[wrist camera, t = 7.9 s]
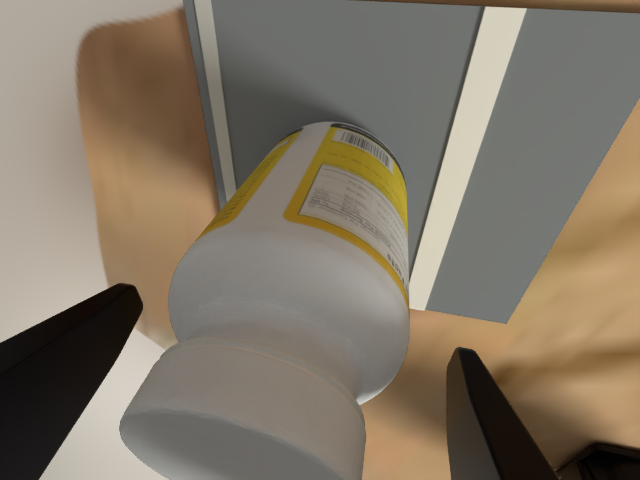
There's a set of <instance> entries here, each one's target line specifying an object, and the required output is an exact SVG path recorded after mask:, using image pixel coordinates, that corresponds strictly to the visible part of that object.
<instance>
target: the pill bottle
mask: <svg viewBox="0 0 640 480" xmlns="http://www.w3.org/2000/svg"><path fill="white" fill-rule="evenodd" d="M168 309H169V316H170V321H171V325H172V328H173V330H174V333H175V335H176V338H177V340H178V342H179V343H177V344H175V345H173V346H172V347H170V348H169V349H168V350H166V351H165V352H164V353H163V354H162V355H161V357H160V359H159V360H158V361H157V362H156V363H155V364H154V365H153V367H152V369H151V370H150V372H149V374H148V376H147V377H146V379H145V381H144V382H143V383H142V385H141V387H140V388H139V390H138V392H137V393H136V395H135V396H134V398H133V399H132V401H131V403H130V404H129V406H128V407H127V409H126V411H125V413H124V415H123V417H122V419H121V421H120V427H119V430H120V435H121V438H122V440H123V442H124V443H125V445H126V446H127V447H128V448H129V450H131V452H132V453H133V454H134V455H135V456H137V458H139V459H140V460H141V461H142V462H143V463H145V464H146V465H147V466H149V467H150V468H152V469H153V470H155V471H156V472H158V473H159V474H161V475H162V476H164V477H166V478H168V479H169V480H362V471H363V461H364V451H365V442H366V431H365V421H364V415H363V412H362V409H361V407H360V404H362V403H364V402H367V401H368V400H370V399H372V398H373V397H375V396H376V395H378V394H379V393H380V392H381V391H383V390H384V389H385V388H386V387H387V386H388V385H389V384H390V383H391V382H392V380H393V379H394V378H395V376H396V375H397V373H398V372H399V370H400V368H401V366H402V364H403V362H404V359H405V356H406V353H407V349H408V343H409V326H410V312H409V268H408V222H407V190H406V183H405V177H404V174H403V171H402V168H401V166H400V164H399V162H398V160H397V159H396V157H395V156H394V154H393V153H392V151H391V150H390V149H389V148H388V147H387V146H386V145H385V144H384V143H383V142H382V141H381V140H380V139H378V138H377V137H376V136H374V135H373V134H371V133H370V132H368V131H366V130H364V129H362V128H359V127H357V126H354V125H351V124H347V123H341V122H318V123H313V124H309V125H306V126H303V127H301V128H298V129H296V130H294V131H293V132H291V133H289V134H288V135H287V136H285V137H284V138H283V139H282V140H281V141H280V142H279V143H278V144H277V145H275V147H274V148H273V149H272V150H271V151H270V153H269V154H268V155H267V156H266V157H265V158H264V160H263V161H262V162H261V163H260V164H259V165H258V167H257V168H256V169H255V170H254V171H253V172H252V174H251V175H250V176H249V177H248V178H247V179H246V181H245V182H244V183H243V184H242V185H241V187H240V188H239V189H238V190H237V191H236V193H235V194H234V195H233V196H232V197H231V199H230V200H229V201H228V202H227V203H226V204H225V206H224V207H223V208H222V209H221V210H220V212H219V213H218V214H217V215H216V217H215V218H214V219H213V220H212V221H211V223H210V224H209V225H208V226H207V228H206V229H205V230H204V231H203V232H202V234H201V235H200V236H199V237H198V238H197V240H196V241H195V242H194V243H193V244H192V246H191V247H190V248H189V249H188V251H187V252H186V254H185V255H184V256H183V258H182V259H181V261H180V262H179V264H178V266H177V268H176V270H175V272H174V275H173V277H172V281H171V284H170V289H169V297H168Z"/></svg>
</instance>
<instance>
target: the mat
mask: <svg viewBox="0 0 640 480" xmlns="http://www.w3.org/2000/svg"><path fill="white" fill-rule="evenodd" d="M183 3H184V9H185V14H186V20H187V25H188V31H189V37H190V42H191V48H192V53H193V59H194V65H195V70H196V76H197V81H198V87H199V93H200V98H201V104H202V109H203V115H204V120H205V126H206V132H207V137H208V143H209V148H210V154H211V160H212V165H213V171H214V176H215V182H216V188H217V193H218V199H219V204H220V210H221V209H222V208H223V207H224V206H225V204H226V203H227V202H228V201H229V200H230V199H231V197H232V196H233V195H234V194H235V193H236V191H237V190H238V189H239V188H240V187H241V185H242V184H243V183H244V182H245V181H246V179H247V178H248V177H249V176H250V175H251V174H252V172H253V171H254V170H255V169H256V168H257V167H258V165H259V164H260V163H261V162H262V161H263V160H264V158H265V157H266V156H267V155H268V154H269V153H270V151H271V150H272V149H273V148H274V147H275V145H277V144H278V143H279V142H280V141H281V140H282V139H283V138H284V137H285V136H287V135H288V134H289V133H291V132H293V131H294V130H296V129H298V128H301V127H303V126H306V125H309V124H313V123H318V122H341V123H347V124H351V125H354V126H357V127H359V128H362V129H364V130H366V131H368V132H370V133H371V134H373V135H374V136H376V137H377V138H378V139H380V140H381V141H382V142H383V143H384V144H385V145H386V146H387V147H388V148H389V149H390V150H391V151H392V153H393V154H394V156H395V157H396V159H397V160H398V162H399V164H400V166H401V168H402V171H403V174H404V177H405V183H406V190H407V222H408V268H409V308H410V309H416V310H422V311H425V310H430V311H436V312H442V313H447V314H453V315H459V316H464V317H470V318H476V319H481V320H487V321H493V322H498V323H504V324H507V322H508V320H509V319H510V317H511V315H512V314H513V312H514V310H515V308H516V307H517V305H518V303H519V302H520V300H521V298H522V297H523V295H524V293H525V292H526V290H527V288H528V286H529V285H530V283H531V281H532V280H533V278H534V276H535V275H536V273H537V271H538V269H539V268H540V266H541V264H542V263H543V261H544V259H545V258H546V256H547V254H548V252H549V251H550V249H551V247H552V246H553V244H554V242H555V241H556V239H557V237H558V235H559V234H560V232H561V230H562V229H563V227H564V225H565V224H566V222H567V220H568V218H569V217H570V215H571V213H572V212H573V210H574V208H575V207H576V205H577V203H578V202H579V200H580V198H581V196H582V195H583V193H584V191H585V190H586V188H587V186H588V185H589V183H590V181H591V179H592V178H593V176H594V174H595V173H596V171H597V169H598V168H599V166H600V164H601V162H602V161H603V159H604V157H605V156H606V154H607V152H608V151H609V149H610V147H611V145H612V144H613V142H614V140H615V139H616V137H617V135H618V134H619V132H620V130H621V128H622V127H623V125H624V123H625V122H626V120H627V118H628V117H629V115H630V113H631V112H632V110H633V108H634V106H635V105H636V103H637V101H638V100H639V98H640V13H627V12H605V11H583V10H561V9H539V8H517V7H495V6H473V5H451V4H429V3H407V2H385V1H363V0H183Z"/></svg>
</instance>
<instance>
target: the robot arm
mask: <svg viewBox="0 0 640 480" xmlns="http://www.w3.org/2000/svg"><path fill="white" fill-rule="evenodd" d="M142 310H143V302H142V300H141V298H140V295H139V293H138V291H137V289H136V287H135V286H134V285H131V284H125V283H119V284H116V285H114V286H112V287H110V288H108V289H106V290H104V291H102V292H100V293H98V294H96V295H94V296H92V297H90V298H88V299H86V300H84V301H82V302H80V303H78V304H77V305H75V306H72V307H70V308H69V309H67V310H65V311H63V312H61V313H59V314H57V315H55V316H53V317H51V318H49V319H47V320H45V321H43V322H41V323H39V324H37V325H35V326H33V327H31V328H29V329H27V330H25V331H23V332H21V333H19V334H17V335H15V336H13V337H11V338H9V339H7V340H5V341H3V342H1V343H0V480H39V479H40V477H41V475H42V474H43V472H44V471H45V469H46V468H47V466H48V465H49V463H50V461H51V460H52V459H53V457H54V456H55V454H56V452H57V451H58V449H59V448H60V446H61V445H62V443H63V441H64V440H65V439H66V437H67V436H68V434H69V432H70V431H71V429H72V428H73V426H74V425H75V423H76V422H77V420H78V419H79V417H80V416H81V414H82V413H83V411H84V409H85V408H86V406H87V405H88V403H89V402H90V400H91V399H92V397H93V396H94V394H95V392H96V391H97V389H98V388H99V386H100V385H101V383H102V382H103V380H104V379H105V377H106V376H107V374H108V373H109V371H110V369H111V368H112V366H113V365H114V363H115V361H116V360H117V358H118V356H119V354H120V353H121V351H122V349H123V347H124V345H125V343H126V341H127V339H128V338H129V335H130V333H131V332H132V330H133V328H134V326H135V324H136V322H137V320H138V318H139V316H140V315H141V313H142ZM446 426H447V444H448V454H449V463H450V472H451V480H640V453H639V452H634V451H630V450H625V449H620V448H616V447H611V446H607V445H602V444H593V445H591V446H589V447H588V448H587V449H585V450H584V451H583V452H581V453H580V454H579V455H578V456H576V457H575V458H574V459H572V460H571V461H570V462H569V463H567V464H566V465H565V466H564V467H562V468H561V469H560V470H558V471H557V472H556V473H555V471H554V470H553V468H552V467H551V465H550V464H549V462H548V461H547V459H546V458H545V456H544V455H543V453H542V452H541V450H540V449H539V447H538V446H537V444H536V442H535V441H534V439H533V438H532V436H531V435H530V433H529V432H528V430H527V429H526V427H525V426H524V424H523V423H522V421H521V420H520V418H519V417H518V415H517V414H516V412H515V411H514V409H513V408H512V406H511V405H510V403H509V402H508V400H507V398H506V397H505V395H504V394H503V392H502V391H501V389H500V388H499V386H498V385H497V383H496V382H495V380H494V379H493V377H492V376H491V374H490V373H489V371H488V370H487V368H486V367H485V365H484V364H483V362H482V361H481V359H480V358H479V356H478V354H477V353H476V352H475V351H474V350H472V349H467V348H462V347H457V348H456V349H455V351H454V353H453V355H452V357H451V359H450V361H449V364H448V366H447V398H446Z"/></svg>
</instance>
